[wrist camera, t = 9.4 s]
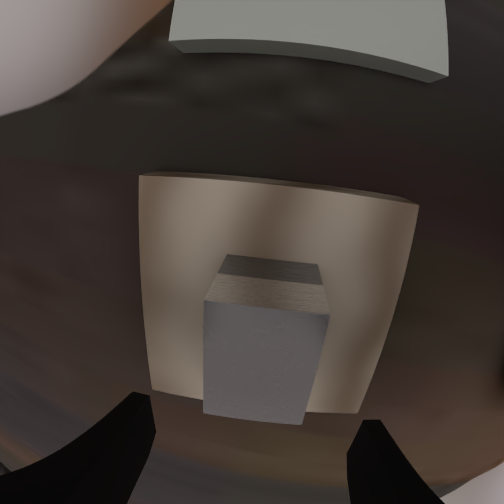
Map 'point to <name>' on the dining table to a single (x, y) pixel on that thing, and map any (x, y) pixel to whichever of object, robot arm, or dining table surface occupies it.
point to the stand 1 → (321, 31)
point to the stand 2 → (270, 247)
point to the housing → (262, 339)
